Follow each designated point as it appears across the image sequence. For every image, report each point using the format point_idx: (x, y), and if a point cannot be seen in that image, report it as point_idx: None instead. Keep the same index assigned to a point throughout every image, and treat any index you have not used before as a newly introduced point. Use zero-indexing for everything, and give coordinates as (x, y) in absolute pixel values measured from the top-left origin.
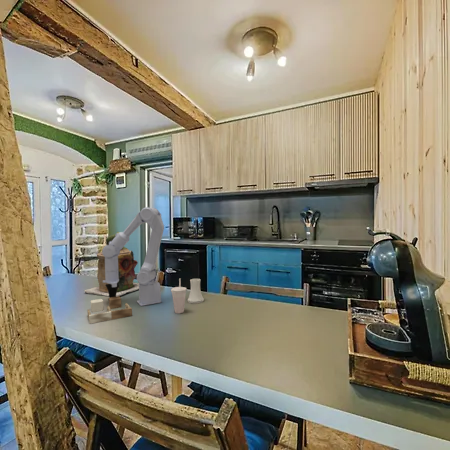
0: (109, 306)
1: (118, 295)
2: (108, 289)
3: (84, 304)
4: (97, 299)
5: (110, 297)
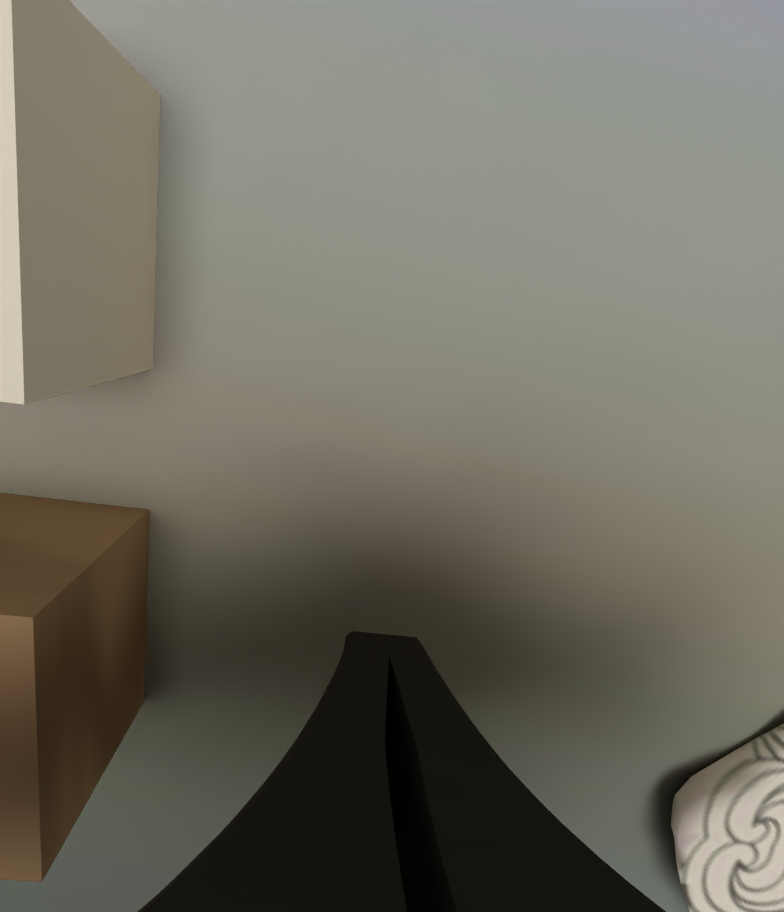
0: (37, 506)
1: (674, 834)
2: (167, 898)
3: (720, 59)
4: (8, 239)
5: (25, 666)
